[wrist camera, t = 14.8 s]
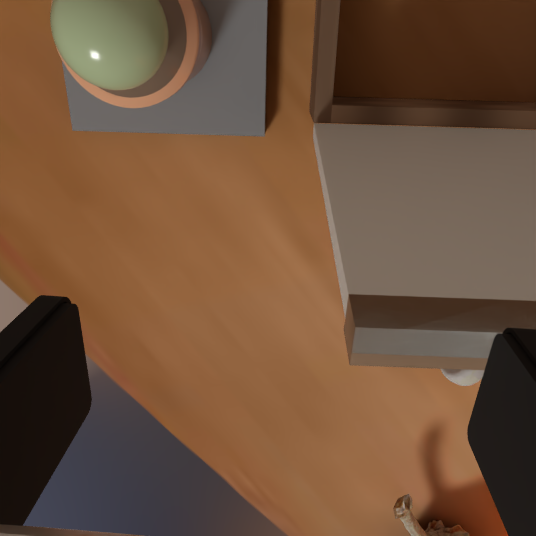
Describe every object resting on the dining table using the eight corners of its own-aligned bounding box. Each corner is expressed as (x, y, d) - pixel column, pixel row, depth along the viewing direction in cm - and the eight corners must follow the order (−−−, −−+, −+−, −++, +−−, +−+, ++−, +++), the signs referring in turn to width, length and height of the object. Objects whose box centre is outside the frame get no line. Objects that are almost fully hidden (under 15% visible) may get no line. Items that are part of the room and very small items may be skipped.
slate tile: (269, -77, 28) (269, -83, 26) (265, 132, 33) (264, 136, 31) (51, -82, 28) (39, -88, 26) (81, 126, 33) (72, 130, 32)
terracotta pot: (217, -30, 27) (173, -77, 16) (219, 93, 30) (184, 123, 19) (101, -32, 28) (-19, -81, 17) (115, 91, 30) (21, 118, 20)
